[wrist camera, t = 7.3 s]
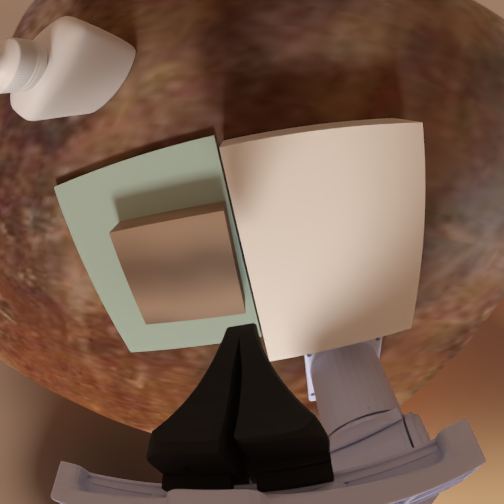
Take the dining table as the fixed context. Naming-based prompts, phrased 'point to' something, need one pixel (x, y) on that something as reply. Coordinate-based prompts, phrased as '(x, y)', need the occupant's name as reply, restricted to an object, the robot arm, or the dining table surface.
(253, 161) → the cream flat block
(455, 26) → the dining table surface
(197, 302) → the walnut tile
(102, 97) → the eye dropper bottle
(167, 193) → the mat
